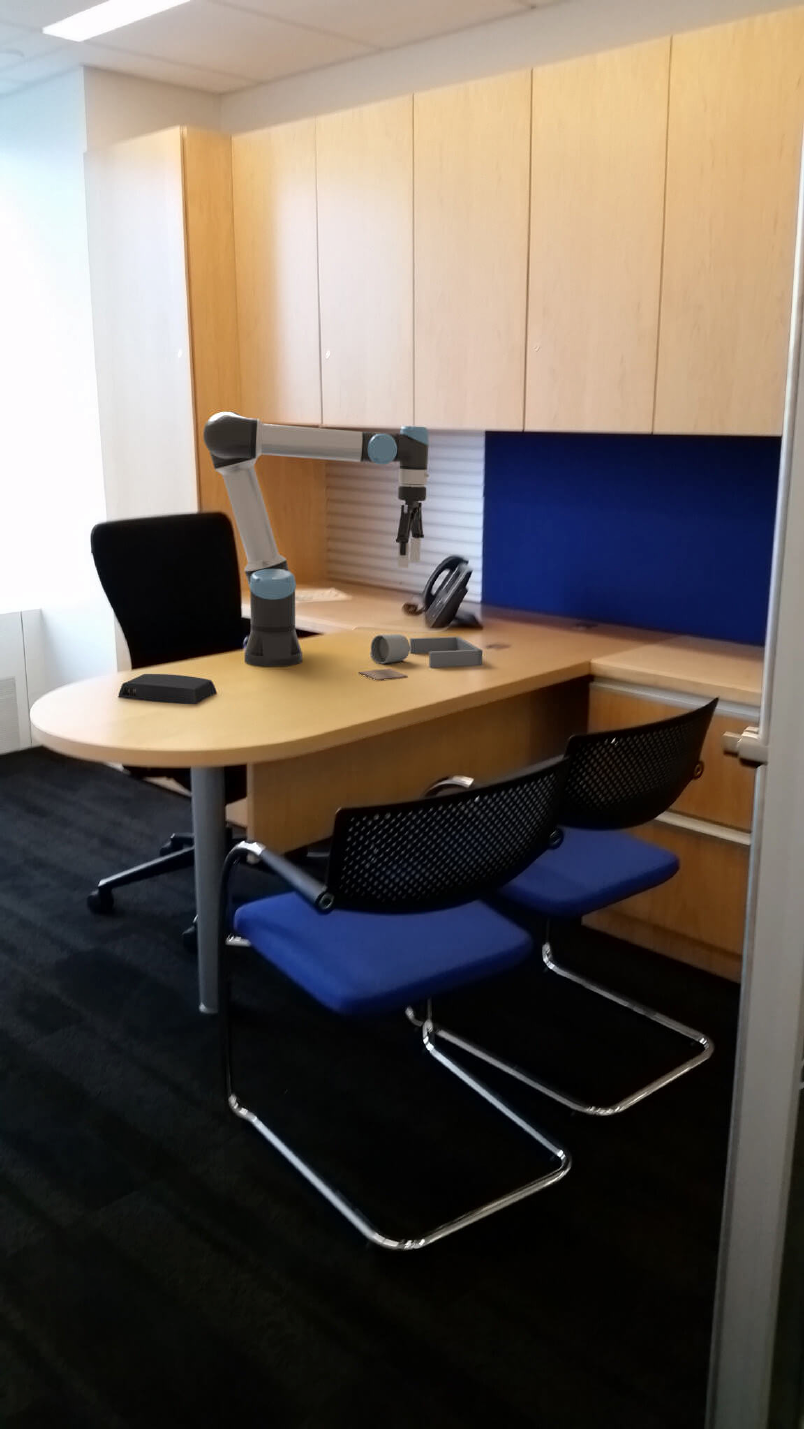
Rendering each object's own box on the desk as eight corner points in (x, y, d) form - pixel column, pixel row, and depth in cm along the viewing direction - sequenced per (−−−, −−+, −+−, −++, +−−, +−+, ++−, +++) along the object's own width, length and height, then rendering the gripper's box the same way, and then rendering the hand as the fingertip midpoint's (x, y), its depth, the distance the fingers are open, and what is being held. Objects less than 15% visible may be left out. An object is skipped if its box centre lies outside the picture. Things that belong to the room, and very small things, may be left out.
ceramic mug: (411, 662, 304) (412, 633, 302) (388, 666, 298) (388, 637, 296) (385, 656, 311) (385, 628, 309) (362, 660, 306) (362, 631, 304)
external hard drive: (143, 687, 273) (143, 670, 272) (218, 694, 268) (218, 677, 267) (116, 700, 261) (115, 682, 260) (194, 707, 256) (193, 689, 255)
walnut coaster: (376, 683, 282) (376, 679, 282) (358, 675, 289) (358, 671, 289) (407, 679, 287) (407, 675, 286) (389, 672, 294) (389, 668, 294)
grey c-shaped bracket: (430, 667, 298) (430, 652, 297) (409, 652, 316) (409, 638, 315) (481, 665, 301) (482, 650, 300) (458, 650, 319) (458, 636, 318)
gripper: (415, 488, 295) (411, 570, 300) (436, 484, 318) (432, 560, 323) (387, 486, 296) (384, 568, 302) (409, 482, 320) (406, 558, 325)
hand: (409, 564), depth 313 cm, fingers open, 13 cm apart
